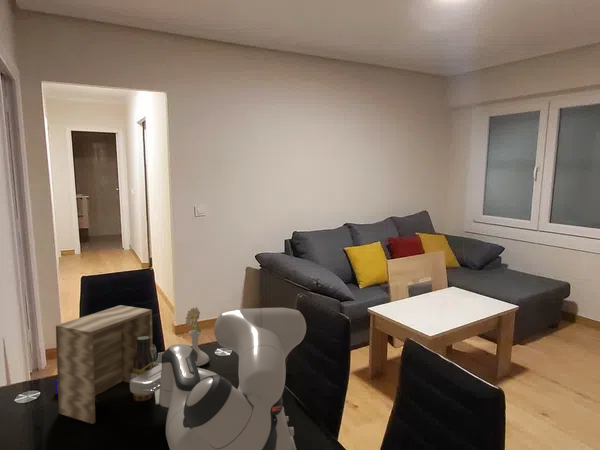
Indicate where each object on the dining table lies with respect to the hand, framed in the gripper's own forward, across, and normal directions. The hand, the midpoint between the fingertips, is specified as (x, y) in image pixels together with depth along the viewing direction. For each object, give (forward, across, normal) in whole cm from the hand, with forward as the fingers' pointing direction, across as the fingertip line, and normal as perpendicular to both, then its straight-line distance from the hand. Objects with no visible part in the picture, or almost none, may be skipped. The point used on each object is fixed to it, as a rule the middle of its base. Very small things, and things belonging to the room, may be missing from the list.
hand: (141, 370), depth 132 cm
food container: (+21, +23, -13) cm, 34 cm away
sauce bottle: (-1, 0, -9) cm, 9 cm away
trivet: (-3, +12, -13) cm, 18 cm away
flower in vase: (+5, +35, -13) cm, 38 cm away
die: (+33, -2, -13) cm, 35 cm away
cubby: (+14, 0, -13) cm, 19 cm away
